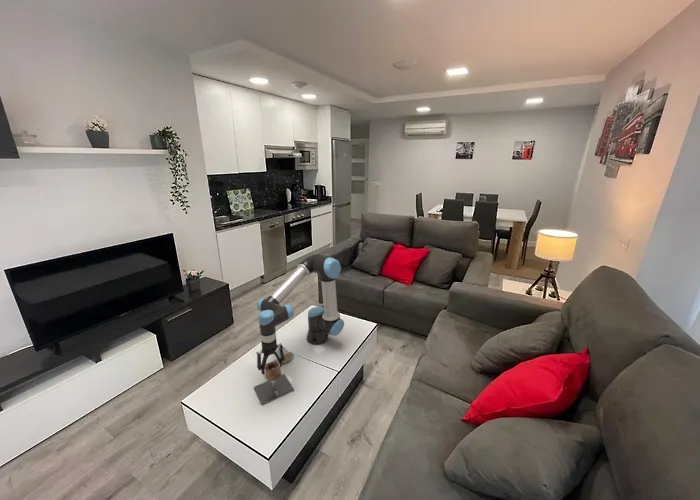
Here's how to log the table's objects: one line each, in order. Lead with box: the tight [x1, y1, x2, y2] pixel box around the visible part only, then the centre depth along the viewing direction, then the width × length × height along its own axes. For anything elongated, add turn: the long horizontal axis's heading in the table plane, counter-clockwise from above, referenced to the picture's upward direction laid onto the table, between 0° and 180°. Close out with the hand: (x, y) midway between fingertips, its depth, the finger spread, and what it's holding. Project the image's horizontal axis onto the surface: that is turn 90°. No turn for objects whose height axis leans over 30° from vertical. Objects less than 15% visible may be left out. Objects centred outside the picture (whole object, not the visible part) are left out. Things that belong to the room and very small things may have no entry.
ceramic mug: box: [275, 346, 295, 364], centre depth 182 cm, size 11×8×8 cm
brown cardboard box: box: [265, 360, 282, 382], centre depth 156 cm, size 7×7×6 cm
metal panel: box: [253, 373, 295, 406], centre depth 159 cm, size 18×14×5 cm
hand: (272, 375), depth 157 cm, fingers closed on brown cardboard box, 7 cm apart
